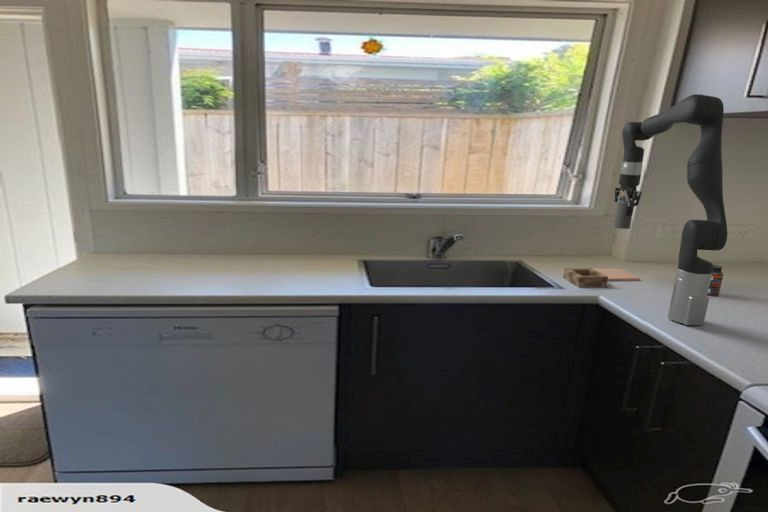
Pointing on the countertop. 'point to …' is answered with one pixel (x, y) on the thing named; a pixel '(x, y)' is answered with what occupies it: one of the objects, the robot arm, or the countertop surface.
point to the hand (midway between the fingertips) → (624, 214)
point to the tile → (617, 275)
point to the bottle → (622, 213)
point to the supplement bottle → (715, 281)
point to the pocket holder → (585, 277)
